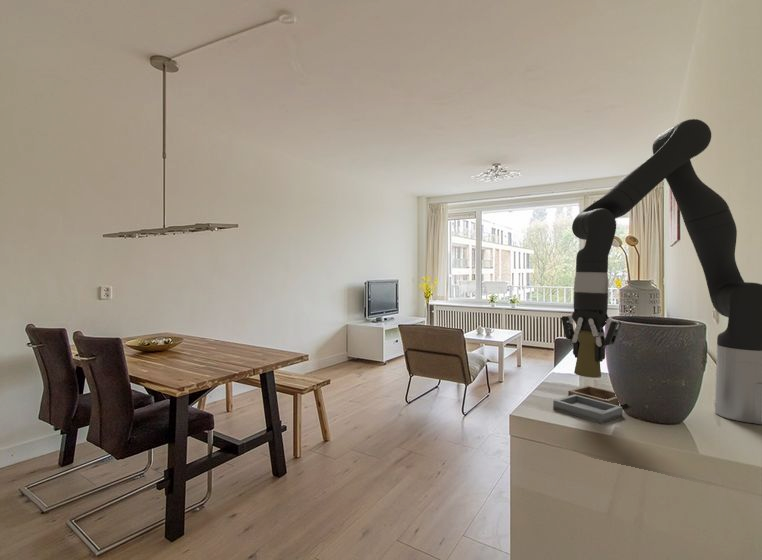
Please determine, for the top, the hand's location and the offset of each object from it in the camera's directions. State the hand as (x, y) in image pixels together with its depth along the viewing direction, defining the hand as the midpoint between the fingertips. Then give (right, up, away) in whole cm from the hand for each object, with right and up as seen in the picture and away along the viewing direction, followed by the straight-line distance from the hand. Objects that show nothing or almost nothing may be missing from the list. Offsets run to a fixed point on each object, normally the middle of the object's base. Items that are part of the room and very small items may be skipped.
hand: (588, 359), depth 99 cm
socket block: (+7, -13, +9) cm, 17 cm away
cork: (0, -4, 0) cm, 4 cm away
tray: (0, -13, 0) cm, 13 cm away
